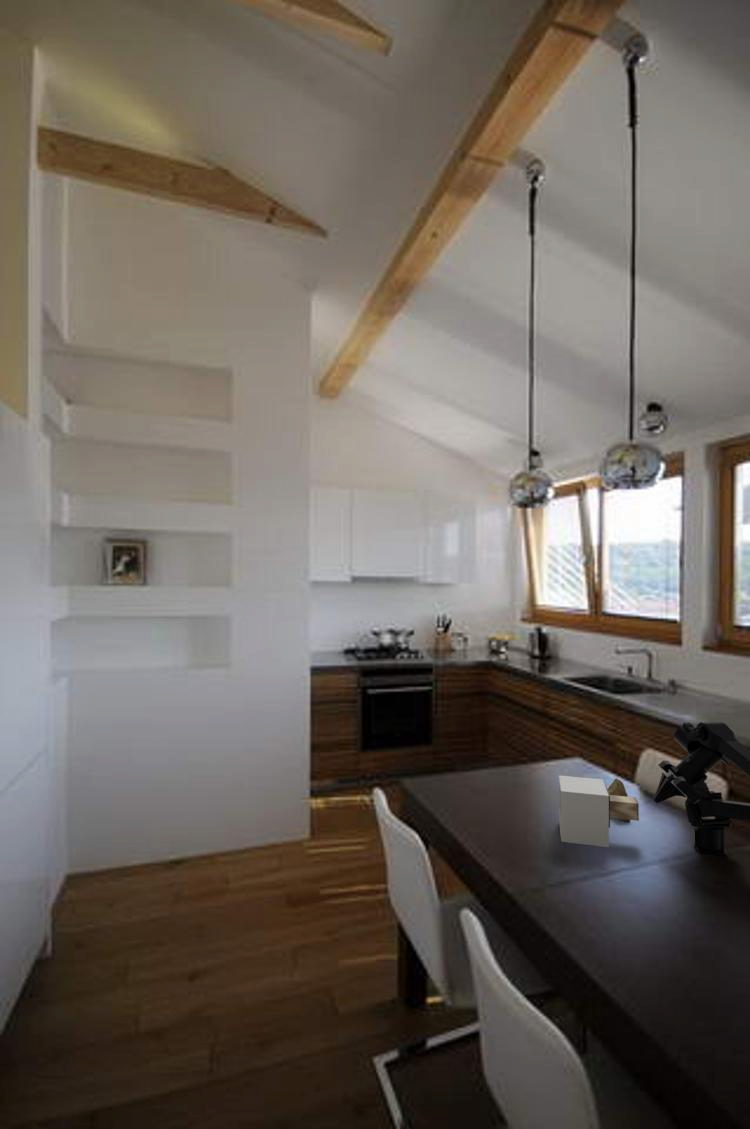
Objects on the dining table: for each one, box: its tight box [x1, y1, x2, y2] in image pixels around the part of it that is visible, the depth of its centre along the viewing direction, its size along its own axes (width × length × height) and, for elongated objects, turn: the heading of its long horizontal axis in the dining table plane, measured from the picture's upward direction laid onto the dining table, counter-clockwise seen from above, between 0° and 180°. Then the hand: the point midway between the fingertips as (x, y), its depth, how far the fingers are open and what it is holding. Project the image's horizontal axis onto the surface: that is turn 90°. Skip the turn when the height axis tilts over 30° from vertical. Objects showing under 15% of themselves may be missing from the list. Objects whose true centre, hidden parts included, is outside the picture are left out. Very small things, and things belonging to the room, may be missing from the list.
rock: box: [607, 778, 631, 822], centre depth 172 cm, size 11×9×10 cm
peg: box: [610, 795, 640, 822], centre depth 157 cm, size 12×5×5 cm, turn 75°
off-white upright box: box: [558, 775, 611, 848], centre depth 159 cm, size 13×13×14 cm
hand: (654, 801), depth 154 cm, fingers closed
